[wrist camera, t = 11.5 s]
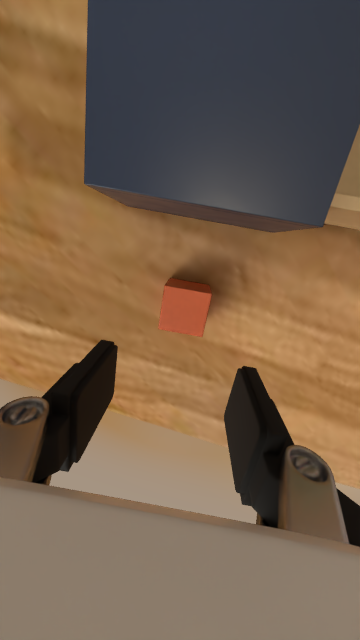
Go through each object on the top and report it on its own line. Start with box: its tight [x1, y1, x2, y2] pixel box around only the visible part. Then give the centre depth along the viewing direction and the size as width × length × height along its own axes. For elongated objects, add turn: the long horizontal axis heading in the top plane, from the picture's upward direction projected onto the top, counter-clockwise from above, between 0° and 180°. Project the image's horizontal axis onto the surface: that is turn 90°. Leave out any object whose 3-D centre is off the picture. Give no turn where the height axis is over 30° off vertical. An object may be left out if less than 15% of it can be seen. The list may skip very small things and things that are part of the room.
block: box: [158, 278, 212, 337], centre depth 23 cm, size 4×4×4 cm
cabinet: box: [84, 0, 360, 232], centre depth 16 cm, size 15×13×9 cm
